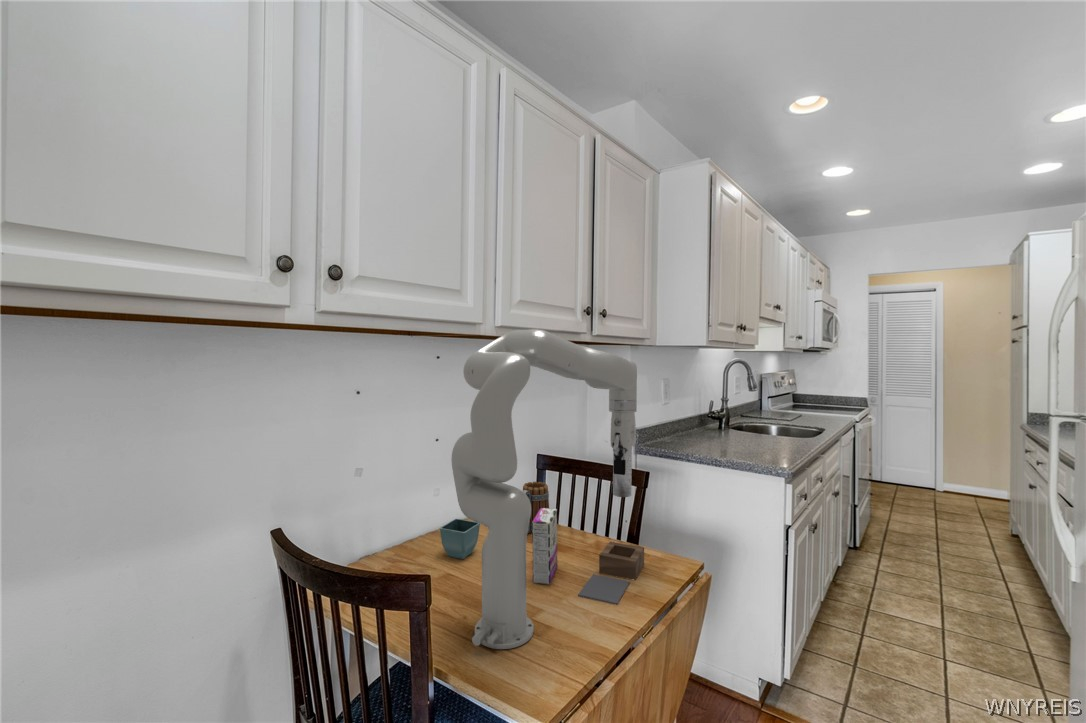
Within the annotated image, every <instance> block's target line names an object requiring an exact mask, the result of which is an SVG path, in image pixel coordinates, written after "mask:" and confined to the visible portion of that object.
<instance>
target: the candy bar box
mask: <svg viewBox="0 0 1086 723" xmlns="http://www.w3.org/2000/svg"><path fill="white" fill-rule="evenodd" d="M557 511H558V509H557V508H550V507H549V508H541V509H540V510H539V512H538V513H537V515H536V517H535V518H534V520H533V522H532V534H531V537H532V583H533V584H537V583H540V585H551V584H552V581H553V578H554V575H555V573H556V570H557V568H558V515H557V513H558V512H557Z"/></svg>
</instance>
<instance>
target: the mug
mask: <svg viewBox="0 0 1086 723" xmlns="http://www.w3.org/2000/svg"><path fill="white" fill-rule="evenodd" d="M522 491H523V492H524V493H525V494H526V495H527V497H528V498H529V500H530V503H531V516H530V521H529V526H528V532H527V534H531V533H532V522H533V520H534V518H535V517H536V515H537V513H538V512H539V510H540V509H541V508H550V498H549V497H550V493H549V492H550V491H549V487H548V484H546V482H543V481H538V482H537V481H529V482H528V481H527V482H526V483H524V484H523V486H522Z"/></svg>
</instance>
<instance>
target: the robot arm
mask: <svg viewBox="0 0 1086 723" xmlns="http://www.w3.org/2000/svg"><path fill="white" fill-rule="evenodd" d="M637 366H638V365H637V364H636V362H634V361H630V360H627V359H626V358H623V357H621V356H619V355H616V354H613V353H611V352H607V351H602V350H598V349H594V348H592V347H587V346H583V345H580V344H578V343H577V344H576V343H574V342H573V341H570V340H567V339H565V338H563V337H561V336H558V335H557V334H554V333H551V332H549V331H547V330H544V329H536V328H532V329H530V328H529V329H515V330H511V331H509V332H506V333H505V334H503V335H500V336H499V337H497V338H496V339H494V340H492V341H490V342H489V343H488V344H486V345H484V346H483V347H481V348H480V349H477V350H476V351H475V352H473V353H472V354H471V355H470V356H469V357H468V358H467V360H465V363H464V367H463V378H464V380H465V382H466V383H467V384H468V385H469V387H471V388H473V389H475V390H478V393H477V394H476V396H475V397H474V400H473V402H472V405H471V408H470V427H471V431H470V432H467V433H465V434H462V435H461V436H460V437H459V438H458V439H457V440H456V442H455V443H454V445H453V447H452V448H453V449H452V451H451V458H450V459H451V468H452V474H453V481H454V486H455V487H454V488H455V492H456V497H457V502H458V506H459V509H460V511H461V513H462V514H463V515H464V516H465V517H466V518H468V519H469V520H470V521H474V522H478V523H480V525H483V526H484V527H486V528H487V529H488V532H487V535H486V537H485V539H484V542H483V544H482V549H481V618H480V619H479V620H478V621H477V622H476V624H475V626H474V635H473V636H472V638H471V642H472V644H473V645H474V646H476V647H478V646H480V645H482V646H485V647H487V648H490V649H493V650H494V649H495V650H508V649H509V650H510V649H513V648H517V647H521V646H522V645H524V644H526V643H527V642H528V641H530V640H531V639H532V637H533V635H534V623H533V621H532V620H531V618H529V617H528V616H527V542H528V540H527V539H528V533H527V532H528V526H529V521H530V516H531V503H530V500H529V498H528V497H527V495H526V494H525V493H524V492H523V490H522V489H520V488H518V487H516V486H514V485H510V484H506V482H508V481H510V480H511V479H512V480H513V478H514V477H515V475H516V473H517V470H518V455H517V449H516V443H515V442H516V441H515V436H514V427H513V419H512V411H513V408H514V405H515V403H516V400H517V399H518V397H519V395H520V393H521V392H522V391H523V390H524V388H525V387H526V386H527V383H528V382H529V379H530V377H531V367H533V368H538V369H540V370H543V371H547V372H549V373H553V374H555V375H556V376H557V375H558V376H561V377H563V378H566V379H572V380H576V381H577V380H579V381H584V382H585V383H586V384H587V385H588V386H589V387H590V388H593V389H599V390H608V412H611V419H610V447H611V448H612V454H613V453H614V457H613V459H614V466H613V465H612V466H613V467H612V469H613V470H612V471H613V472H612V474H613V473H614V474H619V475H625V473H626V460H624V457H625V448H626V449H627V450H628V449H630V448H631V447H632V448H633V446H635V445H636V444H637V434H636V433H637V430H636V429H637V427H636V426H637V425H636V414H635V413H637V412H638V411H637V409H638V408H637V406H638V405H637V402H638V401H637V398H638V397H637V396H638V393H637V391H638V389H637V388H638V386H637V385H638V384H637V381H638V370H637V368H638V367H637ZM619 446H623V448H619ZM619 450H620V451H619ZM621 451H622V454H621Z"/></svg>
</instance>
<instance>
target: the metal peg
mask: <svg viewBox="0 0 1086 723" xmlns="http://www.w3.org/2000/svg"><path fill="white" fill-rule="evenodd" d="M619 448H623V446H619ZM619 451H620V450H619ZM632 451H633V446H632V447H631V448H630V449H628V450H627V449H626V448H625V457H624V460H626V473H625V475H619V474H614V473H613V472H612V495H613V496H615V497H617V498H630V497H632V479H633V478H632V473H633V471H632V465H633V464H632V463H633V462H632V460H633V459H632V458H633V457H632V454H633V453H632ZM612 454H613V455H612V456H613V457H614V453H613V452H612ZM621 454H622V451H621ZM612 462H613V464H612V466H614V459H613V461H612Z"/></svg>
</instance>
